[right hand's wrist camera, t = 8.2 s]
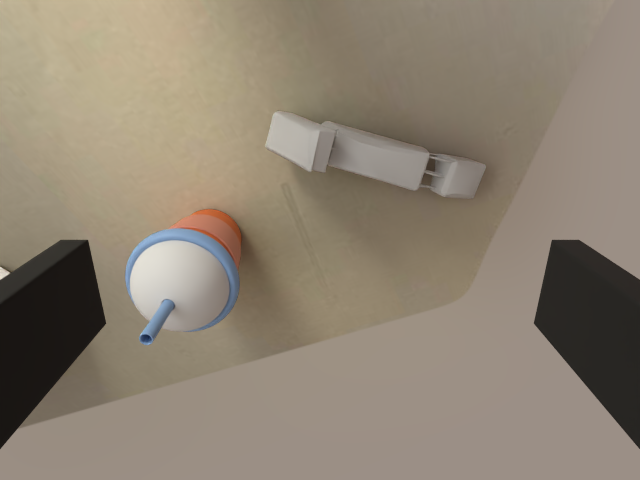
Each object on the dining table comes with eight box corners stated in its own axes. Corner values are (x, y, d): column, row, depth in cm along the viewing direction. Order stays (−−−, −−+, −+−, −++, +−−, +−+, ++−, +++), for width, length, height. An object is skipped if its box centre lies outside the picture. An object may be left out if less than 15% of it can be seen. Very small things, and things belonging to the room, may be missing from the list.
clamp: (264, 146, 40) (262, 163, 34) (273, 106, 39) (272, 116, 33) (457, 191, 44) (487, 214, 38) (471, 155, 42) (504, 173, 36)
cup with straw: (260, 274, 46) (225, 393, 29) (175, 278, 46) (93, 398, 29) (251, 192, 42) (206, 272, 26) (160, 196, 42) (56, 278, 26)
